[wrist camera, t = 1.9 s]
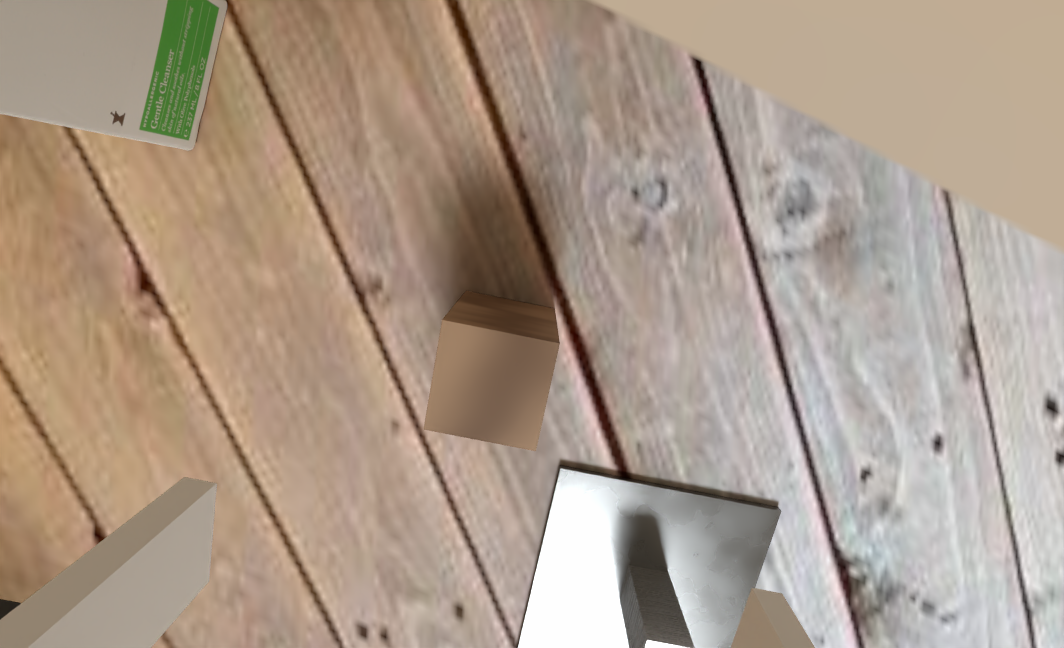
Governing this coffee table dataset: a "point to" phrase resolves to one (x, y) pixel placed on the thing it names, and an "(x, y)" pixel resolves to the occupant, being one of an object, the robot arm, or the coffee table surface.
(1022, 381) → the coffee table surface
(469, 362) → the tan wooden block
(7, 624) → the robot arm
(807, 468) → the coffee table surface
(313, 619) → the coffee table surface
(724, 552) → the grey square base plate
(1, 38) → the skincare box
